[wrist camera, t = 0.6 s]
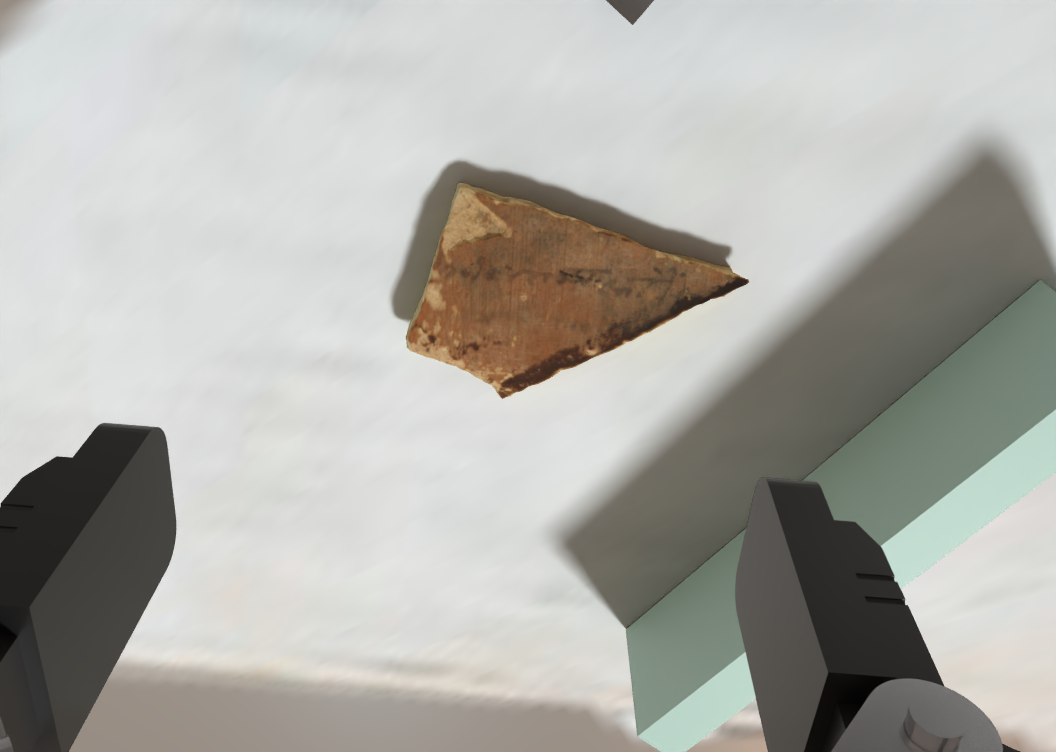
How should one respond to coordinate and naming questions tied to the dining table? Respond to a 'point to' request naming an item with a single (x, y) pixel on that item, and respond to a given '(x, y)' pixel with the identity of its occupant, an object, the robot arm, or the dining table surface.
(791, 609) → the robot arm
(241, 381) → the dining table surface
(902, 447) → the stop rail
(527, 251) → the shard
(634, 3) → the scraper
